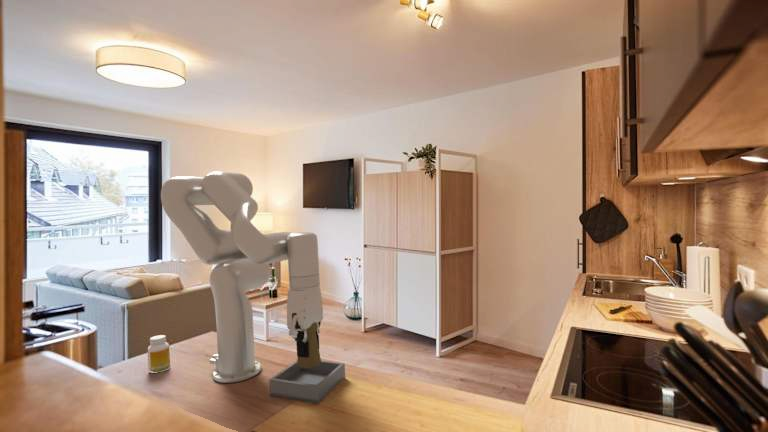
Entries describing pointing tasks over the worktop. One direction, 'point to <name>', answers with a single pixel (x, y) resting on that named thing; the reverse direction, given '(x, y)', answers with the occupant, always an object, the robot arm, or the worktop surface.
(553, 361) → the worktop surface
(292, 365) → the box
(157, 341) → the supplement bottle
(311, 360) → the cork
